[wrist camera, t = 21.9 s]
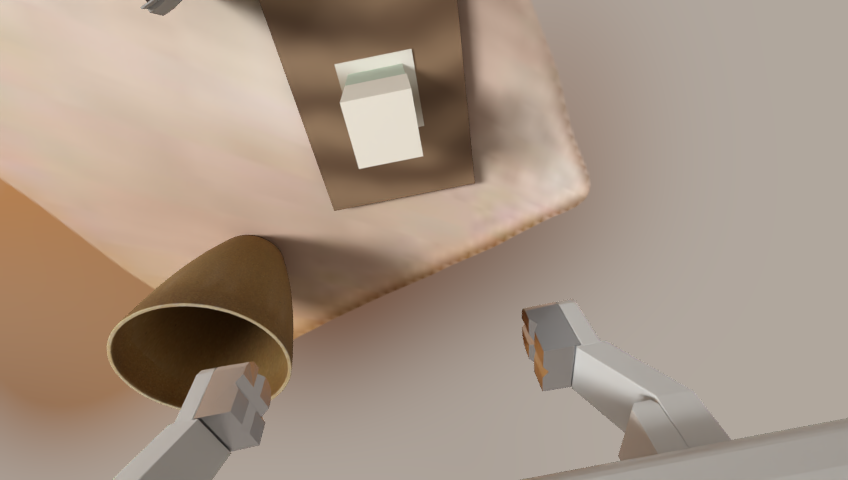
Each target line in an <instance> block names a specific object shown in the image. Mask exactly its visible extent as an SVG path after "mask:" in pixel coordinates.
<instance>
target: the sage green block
mask: <svg viewBox="0 0 848 480" xmlns="http://www.w3.org/2000/svg"><path fill="white" fill-rule="evenodd" d="M401 74H405V71H404V68H403V65H402V64H397V65H392V66H387V67H382V68H377V69H372V70H367V71H362V72H357V73H352V74H348V76H347V79H346V83H345V86H347V85H352V84H357V83H362V82H366V81H371V80H376V79H381V78H386V77H391V76H396V75H401ZM345 86H344V87H345Z"/></svg>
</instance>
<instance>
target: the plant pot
mask: <svg viewBox="0 0 848 480" xmlns="http://www.w3.org/2000/svg"><path fill="white" fill-rule="evenodd" d="M107 355H108V359H109V362H110V365H111V366H112V368H113V370H114V371H115V373H116V374H117V375H118V376H119V377H120V378H121V379H122V380H123V381H124V382H125V383H126V384H127V385H129V386H130V387H131V388H132V389H134V390H135V391H136V392H138V393H140V394H141V395H143V396H145V397H147V398H148V399H151V400H153V401H155V402H158V403H160V404H163V405H166V406H169V407H172V408H175V409H178V410H181V408H182V405H183V403H184V401H185V399H186V397H187V395H188V392H189V390H190V388H191V386H192V384H193V382H194V379H195V377H196V375H197V374H198V373H199V372H200V371H201V370H206V369H212V368H217V367H222V366H228V365H234V364H240V363H246V362H255V363H256V365H257V366H258V367H259V371H258V374H259V375H262V376H264V377H266V379H267V380H268V382H269V385H270V388H271V400H272V399H274V398H275V397H276V396H278V395H279V394H280V393H281V392H282V391H283V389H284V388H285V387H286V385H287V384H288V382H289V379H290V376H291V372H292V358H293V308H292V297H291V289H290V283H289V278H288V273H287V269H286V266H285V262H284V259H283V256H282V254H281V252H280V251H279V249H278V248H277V247H276V246H275V245H274V244H272V243H271V242H269V241H268V240H266V239H264V238H261V237H258V236H252V235H242V236H237V237H234V238H232V239H229V240H227V241H225V242H223V243H222V244H220V245H218V246H216V247H214V248H212V249H211V250H209V251H207V252H205V253H204V254H202V255H201V256H199V257H198V258H196V259H194V260H193V261H191V262H190V263H189V264H187V265H186V266H184V267H183V268H182V269H180V270H179V271H177V272H176V273H175V274H174V275H172V276H171V277H170V278H168V279H167V280H166V281H165V282H164V283H162V284H161V285H160V286H159V287H157V288H156V289H155V290H154V291H153V292H152V293H151V294H150V295H148V296H147V297H146V298H145V299H144V300H143V301H142V302H141V303H140V304H139V305H138V306H136V307H135V308H134V309H133V310H132V311H131V312H130V313H129V314H128V315H127V316H126V317H125V318H124V319H123V320H122V321H121V322H119V323H118V324H117V326H116V327H115V328H114V329H113V331H112V332H111V334H110V336H109V338H108V343H107Z"/></svg>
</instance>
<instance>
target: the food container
mask: <svg viewBox="0 0 848 480" xmlns="http://www.w3.org/2000/svg"><path fill="white" fill-rule="evenodd" d="M146 1H147V2H148V3H146V4H145V5H143V6H142V7H141V9H148V11H149V12H150V13H154V14H158V15H163V16H164V15H165V14H167V13H168V12H170V11H171V10H173V9H174V8H175V7H176V6H177V5H178V4H179V3H180V2H181V1H182V0H146Z"/></svg>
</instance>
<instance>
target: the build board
mask: <svg viewBox="0 0 848 480" xmlns="http://www.w3.org/2000/svg"><path fill="white" fill-rule="evenodd" d="M259 1H260V4H261V7H262V10H263V13H264V15H265V18H266V21H267V24H268V27H269V29H270V32H271V35H272V38H273V41H274V43H275V46H276V49H277V52H278V55H279V57H280V60H281V63H282V66H283V69H284V71H285V74H286V77H287V80H288V83H289V85H290V88H291V91H292V94H293V96H294V99H295V102H296V105H297V108H298V110H299V113H300V116H301V119H302V122H303V124H304V127H305V130H306V133H307V136H308V138H309V141H310V144H311V147H312V150H313V152H314V155H315V158H316V161H317V164H318V166H319V169H320V172H321V175H322V178H323V180H324V183H325V186H326V189H327V192H328V194H329V197H330V200H331V203H332V206H333V208H334V211H336V210H341V209H346V208H351V207H356V206H361V205H366V204H371V203H376V202H381V201H386V200H391V199H397V198H402V197H407V196H412V195H417V194H422V193H427V192H432V191H437V190H442V189H447V188H452V187H457V186H462V185H467V184H472V183H475V181H474V170H473V160H472V149H471V139H470V129H469V118H468V108H467V97H466V87H465V77H464V66H463V56H462V45H461V35H460V25H459V14H458V4H457V0H259ZM397 64H402V65H403V68H404V71H405V74H406V73H407V77H408V80H409V83H410V86H411V90H412V96H413V101H414V107H415V113H416V118H417V124H418V129H419V135H420V141H421V146H422V152H423V156H422V157H417V158H412V159H407V160H402V161H397V162H392V163H387V164H382V165H377V166H372V167H367V168H362V169H359V167H358V164H357V160H356V157H355V154H354V150H353V147H352V143H351V140H350V136H349V133H348V130H347V126H346V123H345V119H344V116H343V112H342V109H341V105H340V100H341V97H342V94H343V90H344V86H345V83H346V79H347V76H348V74H352V73H357V72H362V71H367V70H372V69H377V68H382V67H387V66H392V65H397Z"/></svg>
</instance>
